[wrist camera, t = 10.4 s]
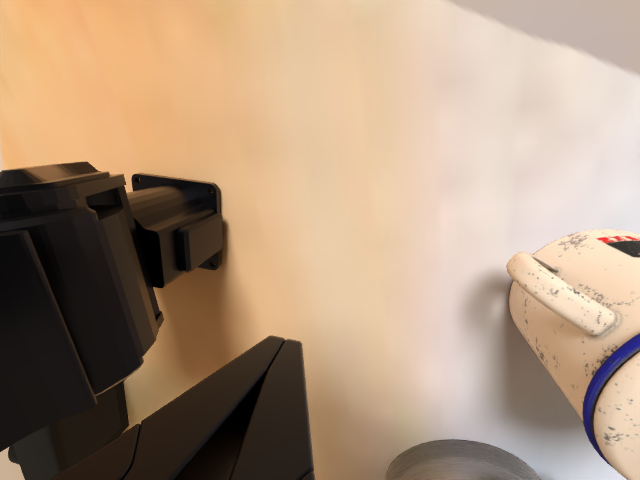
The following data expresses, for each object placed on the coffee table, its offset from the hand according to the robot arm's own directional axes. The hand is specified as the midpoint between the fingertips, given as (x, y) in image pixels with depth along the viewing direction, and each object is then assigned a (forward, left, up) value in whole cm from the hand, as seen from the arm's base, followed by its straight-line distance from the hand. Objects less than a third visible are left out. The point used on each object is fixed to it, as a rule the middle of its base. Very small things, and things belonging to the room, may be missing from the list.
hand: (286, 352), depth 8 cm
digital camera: (-23, -21, -13) cm, 34 cm away
